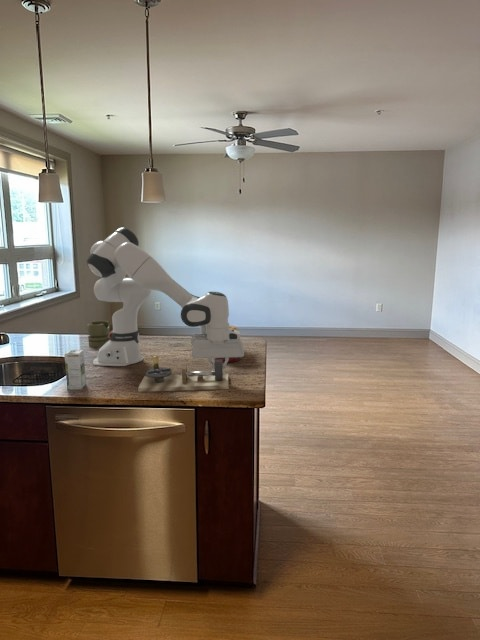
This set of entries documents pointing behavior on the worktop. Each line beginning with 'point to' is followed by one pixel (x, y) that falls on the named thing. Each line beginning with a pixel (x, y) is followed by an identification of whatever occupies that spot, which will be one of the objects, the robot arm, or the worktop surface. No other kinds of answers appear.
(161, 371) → the handwheel
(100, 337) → the olive green mug
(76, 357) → the syrup box
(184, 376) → the eye post
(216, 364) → the hammer
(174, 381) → the board
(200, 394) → the worktop surface
